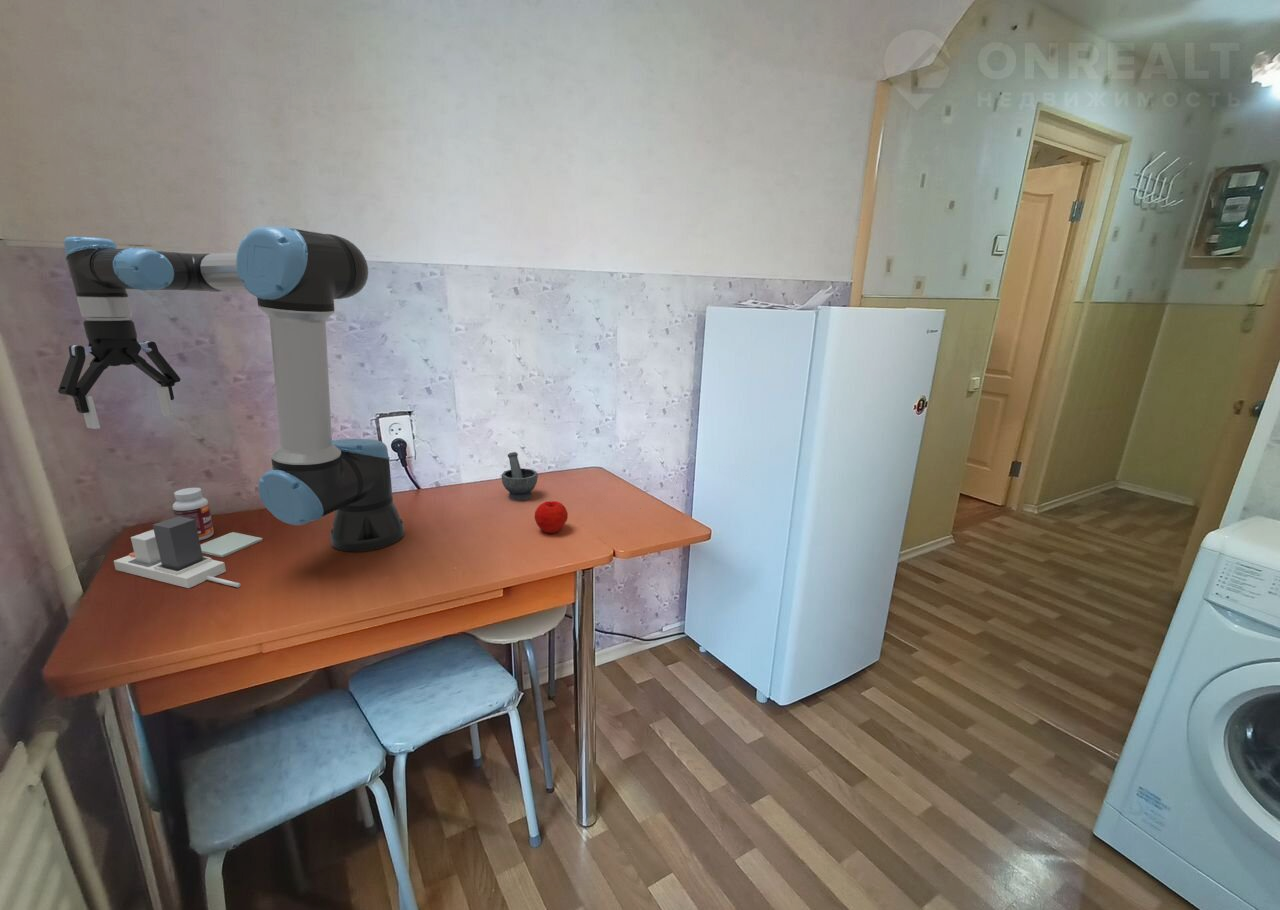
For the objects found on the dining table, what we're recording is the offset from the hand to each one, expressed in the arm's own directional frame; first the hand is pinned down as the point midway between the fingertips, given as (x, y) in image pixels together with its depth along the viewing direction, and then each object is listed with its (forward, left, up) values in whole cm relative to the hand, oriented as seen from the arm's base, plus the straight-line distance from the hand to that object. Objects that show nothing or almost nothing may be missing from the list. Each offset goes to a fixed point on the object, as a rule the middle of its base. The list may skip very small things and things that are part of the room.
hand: (133, 421), depth 116 cm
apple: (-81, -34, -26) cm, 92 cm away
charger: (-24, +11, -24) cm, 36 cm away
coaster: (-19, -1, -26) cm, 33 cm away
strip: (-24, +11, -26) cm, 37 cm away
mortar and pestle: (-62, -52, -26) cm, 86 cm away
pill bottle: (-9, -2, -26) cm, 28 cm away
